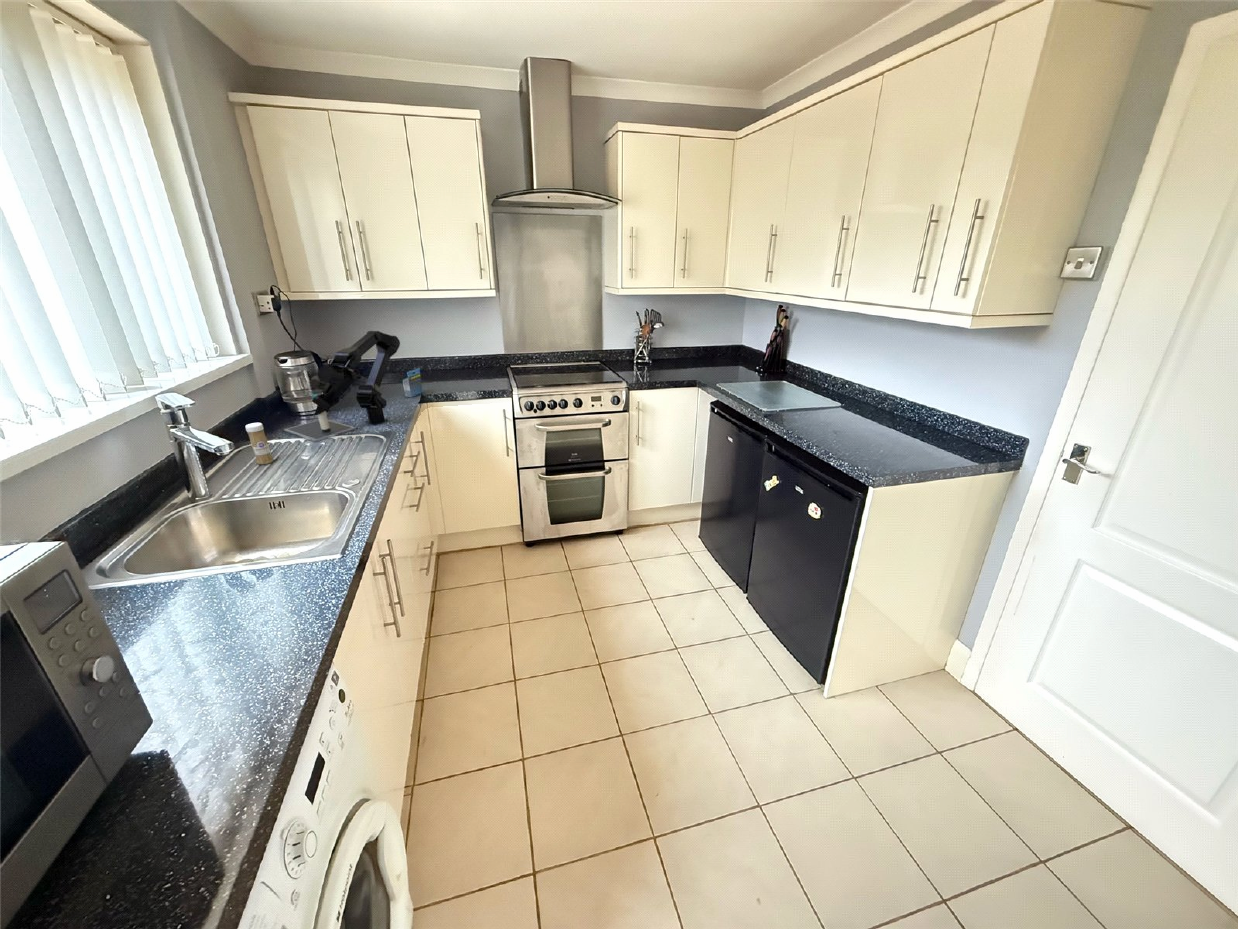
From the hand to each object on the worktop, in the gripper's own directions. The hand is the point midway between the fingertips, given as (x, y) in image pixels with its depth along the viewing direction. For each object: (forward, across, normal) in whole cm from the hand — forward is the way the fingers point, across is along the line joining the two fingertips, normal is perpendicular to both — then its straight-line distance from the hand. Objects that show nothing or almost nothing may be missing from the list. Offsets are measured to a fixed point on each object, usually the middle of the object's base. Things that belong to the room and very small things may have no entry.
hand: (317, 412), depth 187 cm
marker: (+4, 0, +6) cm, 7 cm away
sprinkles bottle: (+12, +27, 0) cm, 30 cm away
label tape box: (-11, -49, +23) cm, 55 cm away
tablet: (+7, -3, +4) cm, 9 cm away
